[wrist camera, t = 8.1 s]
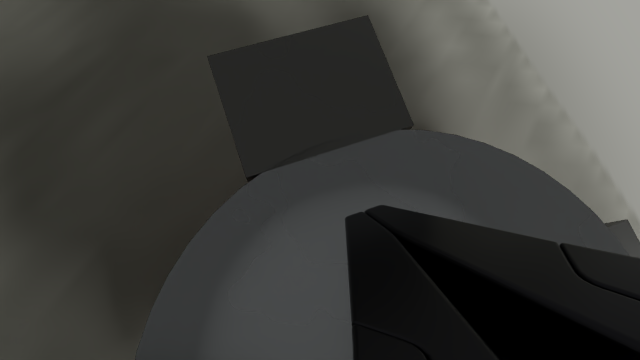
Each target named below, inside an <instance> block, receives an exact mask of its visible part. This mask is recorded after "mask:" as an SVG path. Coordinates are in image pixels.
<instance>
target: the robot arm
mask: <svg viewBox="0 0 640 360" xmlns="http://www.w3.org/2000/svg"><path fill="white" fill-rule="evenodd" d="M345 231H346V247H347V262H348V277H349V293H350V308H351V323H352V344H353V360H640V258H638V257H632V256H627V255H622V254H617V253H612V252H607V251H602V250H597V249H592V248H587V247H582V246H578V245H573V244H568V243H561V244H560V245H559V244H558V243H557V242H555V241H550V240H546V239H541V238H536V237H532V236H527V235H522V234H518V233H513V232H508V231H504V230H499V229H494V228H489V227H485V226H480V225H475V224H471V223H466V222H461V221H457V220H452V219H447V218H443V217H438V216H433V215H428V214H424V213H419V212H414V211H410V210H405V209H400V208H396V207H391V206H386V205H378V206H375V207H373V208H370V209H367V210H365V212H358V213H355V214H352V215H349V216H347V217H346V218H345Z"/></svg>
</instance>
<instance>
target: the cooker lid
mask: <svg viewBox="0 0 640 360" xmlns="http://www.w3.org/2000/svg"><path fill="white" fill-rule="evenodd" d="M207 57H208V60H209V63H210V66H211V70H212V73H213V76H214V79H215V82H216V85H217V88H218V91H219V94H220V98H221V101H222V104H223V107H224V110H225V113H226V116H227V119H228V123H229V126H230V129H231V132H232V135H233V138H234V141H235V144H236V147H237V151H238V154H239V157H240V160H241V163H242V166H243V169H244V172H245V175H246V178H247V181H248V183H247V184H246V185H244V186H243V187H242V188H240V189H239V190H238V191H237V192H236V193H235V194H234V195H233V196H232V197H231V198H229V199H228V200H227V201H226V202H225V203H224V204H223V205H222V206H221V207H220V208H219V209H218V210H216V211H215V212H214V213H213V215H212V216H211V217H210V218H209V219H208V221H207V222H206V223H205V224H204V225H203V227H202V228H201V229H200V230H199V231H198V232H197V234H196V235H195V236H194V237H193V238H192V240H191V241H190V242H189V244H188V245H187V247H186V248H185V250H184V251H183V253H182V254H181V256H180V258H179V259H178V261H177V262H176V264H175V265H174V267H173V268H172V270H171V271H170V273H169V275H168V277H167V279H166V281H165V283H164V285H163V287H162V289H161V291H160V293H159V295H158V297H157V299H156V301H155V303H154V305H153V307H152V309H151V311H150V314H149V317H148V320H147V323H146V326H145V329H144V332H143V335H142V338H141V341H140V343H139V346H138V349H137V352H136V357H135V360H353V344H352V323H351V308H350V293H349V277H348V262H347V247H346V231H345V218H346V217H347V216H349V215H352V214H355V213H358V212H365V210H367V209H370V208H373V207H375V206H378V205H386V206H391V207H396V208H400V209H405V210H410V211H414V212H419V213H424V214H428V215H433V216H438V217H443V218H447V219H452V220H457V221H461V222H466V223H471V224H475V225H480V226H485V227H489V228H494V229H499V230H504V231H508V232H513V233H518V234H522V235H527V236H532V237H536V238H541V239H546V240H550V241H555V242H557V243H558V244H559V245H560V244H561V243H568V244H573V245H578V246H582V247H587V248H592V249H597V250H602V251H607V252H612V253H617V254H622V255H627V256H630V255H629V254H628V253H627V251H626V250H625V248H624V247H623V246H622V244H621V243H620V241H619V240H618V239H617V237H616V236H615V235H614V234H613V233H612V232H611V231H610V230H609V228H608V227H607V226H606V225H605V224H604V223H603V222H602V221H601V219H600V218H599V217H598V216H597V215H596V214H595V213H594V212H593V211H592V210H591V209H590V208H589V207H588V206H586V205H585V204H584V203H583V202H582V201H581V200H580V199H579V198H578V197H577V196H575V195H574V194H573V193H572V192H571V191H570V190H569V189H567V188H566V187H564V186H563V185H562V184H560V183H559V182H557V181H556V180H555V179H553V178H552V177H550V176H549V175H548V174H546V173H545V172H544V171H542V170H540V169H538V168H536V167H535V166H533V165H531V164H529V163H528V162H526V161H524V160H522V159H520V158H519V157H517V156H515V155H513V154H510V153H508V152H505V151H503V150H501V149H498V148H496V147H493V146H491V145H488V144H486V143H483V142H479V141H476V140H472V139H469V138H465V137H461V136H458V135H454V134H447V133H440V132H433V131H427V130H410V129H411V128H412V126H413V122H412V120H411V117H410V115H409V113H408V110H407V108H406V105H405V103H404V101H403V98H402V96H401V93H400V91H399V89H398V86H397V84H396V82H395V79H394V77H393V74H392V72H391V70H390V67H389V65H388V62H387V60H386V58H385V55H384V53H383V50H382V48H381V46H380V43H379V41H378V38H377V36H376V34H375V31H374V29H373V27H372V24H371V22H370V19H369V17H368V15H367V16H363V17H359V18H355V19H351V20H347V21H343V22H340V23H336V24H332V25H328V26H324V27H320V28H316V29H312V30H308V31H304V32H300V33H297V34H293V35H289V36H285V37H281V38H277V39H273V40H269V41H265V42H261V43H257V44H254V45H250V46H246V47H242V48H238V49H234V50H230V51H226V52H222V53H218V54H214V55H210V56H207Z"/></svg>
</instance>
